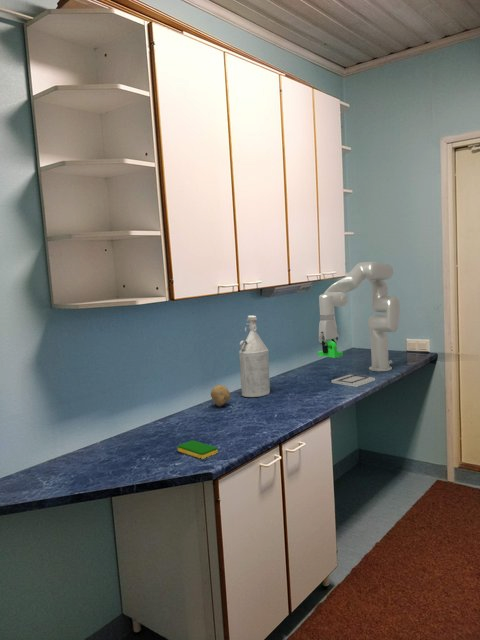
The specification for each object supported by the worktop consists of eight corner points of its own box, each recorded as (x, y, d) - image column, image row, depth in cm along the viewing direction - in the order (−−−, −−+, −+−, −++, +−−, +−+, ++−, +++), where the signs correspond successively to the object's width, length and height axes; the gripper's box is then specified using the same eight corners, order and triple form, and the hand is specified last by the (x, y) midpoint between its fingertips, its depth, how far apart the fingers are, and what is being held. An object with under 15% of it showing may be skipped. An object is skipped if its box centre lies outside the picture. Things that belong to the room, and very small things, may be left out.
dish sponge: (192, 446, 186) (192, 439, 186) (218, 454, 177) (217, 447, 176) (177, 452, 181) (176, 445, 181) (202, 460, 172) (202, 453, 171)
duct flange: (349, 377, 278) (349, 373, 278) (375, 380, 266) (374, 377, 266) (331, 382, 268) (331, 379, 268) (356, 386, 256) (356, 383, 256)
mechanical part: (342, 355, 263) (341, 340, 262) (334, 357, 259) (333, 342, 258) (326, 353, 273) (325, 338, 272) (318, 355, 269) (317, 340, 268)
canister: (234, 396, 253) (229, 317, 249) (257, 389, 266) (252, 313, 262) (254, 400, 244) (248, 318, 240) (276, 391, 257) (271, 314, 253)
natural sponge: (224, 402, 244) (223, 381, 243) (234, 405, 236) (233, 384, 235) (208, 406, 239) (206, 385, 238) (218, 409, 232) (216, 388, 231)
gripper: (332, 315, 272) (334, 348, 274) (311, 319, 261) (313, 354, 263) (343, 315, 267) (345, 349, 269) (322, 320, 256) (324, 355, 258)
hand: (329, 351), depth 266 cm, fingers closed on mechanical part, 6 cm apart
